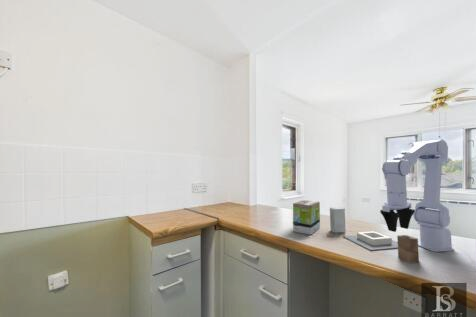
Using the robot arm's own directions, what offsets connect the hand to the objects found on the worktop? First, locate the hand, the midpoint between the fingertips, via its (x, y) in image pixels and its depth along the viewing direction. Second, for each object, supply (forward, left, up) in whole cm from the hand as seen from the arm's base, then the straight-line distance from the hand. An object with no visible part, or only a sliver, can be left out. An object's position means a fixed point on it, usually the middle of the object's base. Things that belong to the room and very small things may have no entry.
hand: (398, 229), depth 74 cm
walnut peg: (-2, +2, -10) cm, 11 cm away
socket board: (-4, -15, -10) cm, 19 cm away
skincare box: (+2, -31, -11) cm, 33 cm away
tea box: (+16, -37, -11) cm, 42 cm away
